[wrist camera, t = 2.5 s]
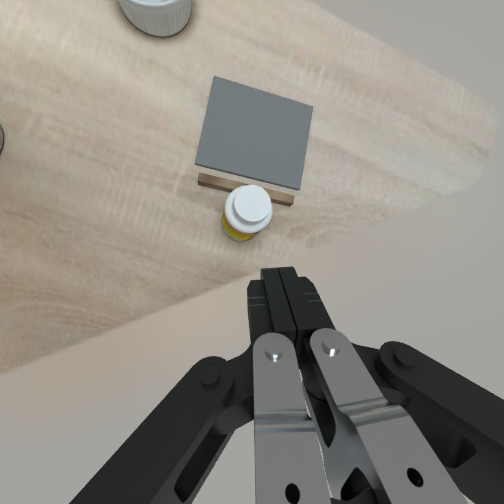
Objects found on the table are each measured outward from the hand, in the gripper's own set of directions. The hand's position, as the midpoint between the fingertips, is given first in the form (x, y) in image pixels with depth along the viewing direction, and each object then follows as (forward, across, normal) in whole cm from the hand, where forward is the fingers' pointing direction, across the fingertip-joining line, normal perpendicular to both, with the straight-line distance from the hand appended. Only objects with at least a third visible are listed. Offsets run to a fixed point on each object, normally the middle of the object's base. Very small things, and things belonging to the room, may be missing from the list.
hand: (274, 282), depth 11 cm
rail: (+26, 0, +4) cm, 26 cm away
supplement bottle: (+23, +1, +8) cm, 24 cm away
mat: (+31, -2, -3) cm, 31 cm away
